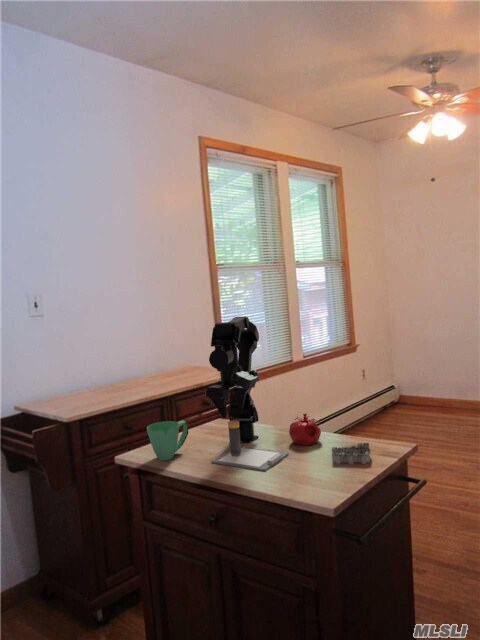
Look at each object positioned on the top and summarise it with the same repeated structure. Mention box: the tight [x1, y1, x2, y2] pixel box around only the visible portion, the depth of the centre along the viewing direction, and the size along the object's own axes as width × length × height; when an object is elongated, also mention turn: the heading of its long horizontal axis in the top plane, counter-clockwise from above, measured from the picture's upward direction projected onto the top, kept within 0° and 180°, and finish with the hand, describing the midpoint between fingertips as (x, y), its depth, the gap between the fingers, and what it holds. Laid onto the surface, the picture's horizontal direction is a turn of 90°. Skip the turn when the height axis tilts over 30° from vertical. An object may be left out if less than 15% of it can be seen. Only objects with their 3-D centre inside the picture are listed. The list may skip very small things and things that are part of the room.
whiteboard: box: [211, 446, 290, 472], centre depth 145 cm, size 14×18×2 cm
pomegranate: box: [288, 412, 322, 446], centre depth 156 cm, size 10×10×9 cm
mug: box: [146, 420, 189, 461], centre depth 153 cm, size 15×10×10 cm
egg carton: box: [330, 442, 372, 465], centre depth 138 cm, size 11×8×4 cm
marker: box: [227, 420, 242, 456], centre depth 147 cm, size 3×3×10 cm
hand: (232, 414), depth 150 cm, fingers open, 9 cm apart
